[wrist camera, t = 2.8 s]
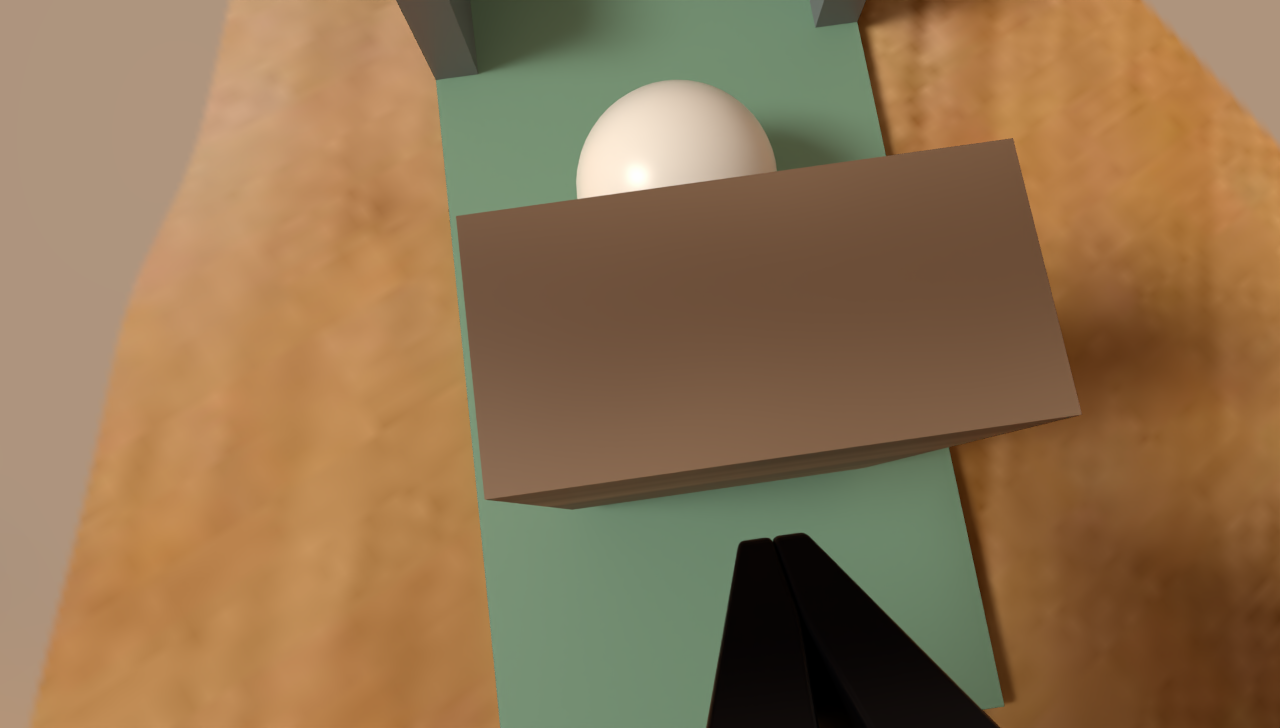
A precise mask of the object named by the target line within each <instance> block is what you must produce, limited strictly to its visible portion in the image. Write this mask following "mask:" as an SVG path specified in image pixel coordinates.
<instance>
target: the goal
mask: <svg viewBox="0 0 1280 728" xmlns="http://www.w3.org/2000/svg"><path fill="white" fill-rule="evenodd" d="M396 1H397V3H398V5H399V7H400V9H401V11H402V13H403V15H404V17H405V19H406V21H407V23H408V25H409V27H410V29H411V31H412V33H413V35H414V37H415V39H416V41H417V43H418V45H419V47H420V49H421V51H422V53H423V55H424V57H425V59H426V61H427V63H428V65H429V67H430V69H431V71H432V73H433V75H434V77H435V79H436V80H440V79H447V78H454V77H462V76H469V75H476V74H478V67H477V58H476V49H475V40H474V31H473V22H472V13H471V4H470V0H396ZM865 1H866V0H810V5H811V9H812V14H813V19H814V24H815V28H817V27H824V26H831V25H839V24H846V23H853V22H857V21H858V19H859V16H860V14H861V11H862V9H863V6H864V4H865Z"/></svg>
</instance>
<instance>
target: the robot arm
mask: <svg viewBox="0 0 1280 728" xmlns="http://www.w3.org/2000/svg"><path fill="white" fill-rule="evenodd" d="M706 728H1000V727H999V726H998V725H997V724H996V723H995V722H994V721H993V720H992V719H991V718H990V717H989V716H988V715H987V714H986V713H985V712H984V711H983V710H982V709H981V708H980V707H979V706H978V705H977V704H976V703H975V702H974V701H973V700H972V699H971V698H970V697H969V696H968V695H967V694H966V693H965V692H964V691H963V690H962V689H961V688H960V687H959V686H958V685H957V684H956V683H955V682H954V681H953V680H952V679H951V678H950V677H949V676H948V675H947V674H946V673H945V672H944V671H943V670H942V669H941V668H940V667H939V666H938V665H937V664H936V663H935V662H934V661H933V660H932V659H931V658H930V657H929V656H928V655H927V654H926V653H925V652H924V651H923V650H922V649H921V648H920V647H919V646H918V645H917V644H916V643H915V642H914V641H913V640H912V639H911V638H910V637H909V636H908V635H907V634H906V633H905V632H904V631H903V630H902V629H901V628H900V627H899V626H898V625H897V624H896V623H895V622H894V621H893V620H892V619H891V618H890V617H889V616H888V615H887V614H886V613H885V612H884V611H883V610H882V609H881V608H880V607H879V606H878V605H877V604H876V603H875V602H874V600H873V599H872V598H871V597H870V596H869V595H868V594H867V593H866V592H865V591H864V590H863V589H862V588H861V587H860V586H859V585H858V584H857V583H856V582H855V581H854V580H853V579H852V578H851V577H850V576H849V575H848V574H847V573H846V572H845V571H844V570H843V569H842V568H841V567H840V566H839V565H838V564H837V563H836V562H835V561H834V560H833V559H832V558H831V557H830V556H829V555H828V554H827V553H826V552H825V551H824V550H823V549H822V548H821V547H820V546H819V545H818V544H817V543H816V542H815V541H814V540H813V539H812V538H811V537H810V536H809V535H807V534H805V533H793V534H786V535H779V536H776V537H775V538H774V539H773V541H772V540H771V539H770V538H758V539H751V540H744V541H741V542H740V543H739V545H738V548H737V554H736V560H735V565H734V571H733V577H732V582H731V588H730V594H729V599H728V605H727V611H726V617H725V622H724V628H723V634H722V639H721V645H720V651H719V657H718V662H717V668H716V674H715V679H714V685H713V691H712V697H711V702H710V708H709V714H708V719H707V725H706Z"/></svg>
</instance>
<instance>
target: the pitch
mask: <svg viewBox="0 0 1280 728" xmlns="http://www.w3.org/2000/svg"><path fill="white" fill-rule="evenodd" d="M470 4H471V13H472V22H473V31H474V40H475V49H476V58H477V67H478V74H476V75H469V76H462V77H454V78H447V79H440V80H436V85H437V95H438V105H439V115H440V125H441V135H442V145H443V155H444V165H445V175H446V185H447V195H448V205H449V216H450V226H451V236H452V246H453V256H454V266H455V276H456V286H457V296H458V306H459V316H460V326H461V336H462V346H463V356H464V366H465V377H466V387H467V397H468V407H469V417H470V427H471V437H472V447H473V457H474V467H475V477H476V487H477V497H478V507H479V517H480V527H481V537H482V548H483V558H484V568H485V578H486V588H487V598H488V608H489V618H490V628H491V638H492V648H493V658H494V668H495V678H496V688H497V698H498V708H499V719H500V728H706V725H707V719H708V714H709V708H710V702H711V697H712V691H713V685H714V679H715V674H716V668H717V662H718V657H719V651H720V645H721V639H722V634H723V628H724V622H725V617H726V611H727V605H728V599H729V594H730V588H731V582H732V577H733V571H734V565H735V560H736V554H737V548H738V545H739V543H740V542H741V541H744V540H751V539H758V538H770V539H771V540H772V541H773V539H774V538H775V537H776V536H779V535H786V534H793V533H805V534H807V535H809V536H810V537H811V538H812V539H813V540H814V541H815V542H816V543H817V544H818V545H819V546H820V547H821V548H822V549H823V550H824V551H825V552H826V553H827V554H828V555H829V556H830V557H831V558H832V559H833V560H834V561H835V562H836V563H837V564H838V565H839V566H840V567H841V568H842V569H843V570H844V571H845V572H846V573H847V574H848V575H849V576H850V577H851V578H852V579H853V580H854V581H855V582H856V583H857V584H858V585H859V586H860V587H861V588H862V589H863V590H864V591H865V592H866V593H867V594H868V595H869V596H870V597H871V598H872V599H873V600H874V602H875V603H876V604H877V605H878V606H879V607H880V608H881V609H882V610H883V611H884V612H885V613H886V614H887V615H888V616H889V617H890V618H891V619H892V620H893V621H894V622H895V623H896V624H897V625H898V626H899V627H900V628H901V629H902V630H903V631H904V632H905V633H906V634H907V635H908V636H909V637H910V638H911V639H912V640H913V641H914V642H915V643H916V644H917V645H918V646H919V647H920V648H921V649H922V650H923V651H924V652H925V653H926V654H927V655H928V656H929V657H930V658H931V659H932V660H933V661H934V662H935V663H936V664H937V665H938V666H939V667H940V668H941V669H942V670H943V671H944V672H945V673H946V674H947V675H948V676H949V677H950V678H951V679H952V680H953V681H954V682H955V683H956V684H957V685H958V686H959V687H960V688H961V689H962V690H963V691H964V692H965V693H966V694H967V695H968V696H969V697H970V698H971V699H972V700H973V701H974V702H975V703H976V704H977V705H978V706H979V707H980V708H981V709H982V710H983V709H990V708H997V707H1004V702H1003V697H1002V692H1001V688H1000V683H999V678H998V674H997V669H996V664H995V660H994V655H993V651H992V646H991V641H990V637H989V632H988V627H987V623H986V618H985V613H984V609H983V604H982V599H981V595H980V590H979V586H978V581H977V576H976V572H975V567H974V562H973V558H972V553H971V548H970V544H969V539H968V534H967V530H966V525H965V520H964V516H963V511H962V507H961V502H960V497H959V493H958V488H957V483H956V479H955V474H954V469H953V465H952V460H951V455H950V451H949V447H947V448H943V449H939V450H935V451H931V452H927V453H923V454H919V455H915V456H911V457H907V458H903V459H899V460H895V461H890V462H886V463H882V464H878V465H874V466H870V467H866V468H861V469H854V470H847V471H840V472H833V473H826V474H819V475H812V476H805V477H798V478H791V479H784V480H777V481H770V482H763V483H756V484H749V485H742V486H735V487H728V488H721V489H714V490H707V491H700V492H693V493H686V494H679V495H672V496H665V497H658V498H651V499H644V500H637V501H630V502H623V503H616V504H609V505H602V506H595V507H588V508H581V509H574V510H570V509H561V508H553V507H544V506H535V505H526V504H518V503H509V502H500V501H492V500H485V499H484V489H483V479H482V469H481V460H480V450H479V440H478V430H477V420H476V410H475V400H474V390H473V380H472V371H471V361H470V351H469V341H468V331H467V321H466V311H465V301H464V291H463V281H462V272H461V262H460V252H459V242H458V232H457V222H456V216H460V215H467V214H474V213H481V212H488V211H496V210H503V209H510V208H517V207H524V206H531V205H539V204H546V203H553V202H560V201H567V200H574V199H577V188H576V177H577V168H578V163H579V159H580V154H581V151H582V148H583V146H584V143H585V140H586V138H587V137H588V135H589V133H590V131H591V129H592V128H593V126H594V125H595V123H596V122H597V121H598V119H599V118H600V116H601V115H602V114H603V113H604V112H605V111H606V110H607V109H608V108H609V107H610V106H611V105H612V104H614V103H615V102H616V101H617V100H619V99H620V98H622V97H623V96H625V95H626V94H628V93H630V92H631V91H633V90H635V89H638V88H640V87H642V86H645V85H648V84H651V83H655V82H660V81H665V80H690V81H696V82H701V83H705V84H708V85H711V86H714V87H716V88H718V89H721V90H723V91H724V92H726V93H728V94H730V95H731V96H733V97H734V98H735V99H737V100H738V101H739V102H741V103H742V104H743V105H744V106H745V107H746V108H747V109H748V110H749V111H750V112H751V113H752V114H753V115H754V116H755V118H756V119H757V120H758V122H759V123H760V124H761V126H762V128H763V130H764V131H765V133H766V135H767V137H768V139H769V142H770V144H771V147H772V149H773V153H774V157H775V160H776V168H777V171H782V170H790V169H797V168H804V167H811V166H818V165H825V164H833V163H840V162H847V161H854V160H861V159H869V158H876V157H883V156H886V154H885V149H884V144H883V140H882V135H881V130H880V126H879V121H878V116H877V112H876V107H875V102H874V98H873V93H872V89H871V84H870V79H869V75H868V70H867V65H866V61H865V56H864V51H863V47H862V42H861V37H860V33H859V28H858V23H857V22H853V23H846V24H839V25H831V26H824V27H817V28H815V24H814V19H813V14H812V9H811V5H810V0H470Z"/></svg>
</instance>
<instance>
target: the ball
mask: <svg viewBox="0 0 1280 728" xmlns="http://www.w3.org/2000/svg"><path fill="white" fill-rule="evenodd" d="M775 171H777V168H776V160H775V157H774V153H773V149H772V147H771V144H770V142H769V139H768V137H767V135H766V133H765V131H764V130H763V128H762V126H761V124H760V123H759V122H758V120H757V119H756V118H755V116H754V115H753V114H752V113H751V112H750V111H749V110H748V109H747V108H746V107H745V106H744V105H743V104H742V103H741V102H739V101H738V100H737V99H735V98H734V97H733V96H731V95H730V94H728V93H726V92H724V91H723V90H721V89H718V88H716V87H714V86H711V85H708V84H705V83H701V82H696V81H690V80H665V81H660V82H655V83H651V84H648V85H645V86H642V87H640V88H638V89H635V90H633V91H631V92H630V93H628V94H626V95H625V96H623V97H622V98H620V99H619V100H617V101H616V102H615V103H614V104H612V105H611V106H610V107H609V108H608V109H607V110H606V111H605V112H604V113H603V114H602V115H601V116H600V118H599V119H598V121H597V122H596V123H595V125H594V126H593V128H592V129H591V131H590V133H589V135H588V137H587V138H586V140H585V143H584V146H583V148H582V151H581V154H580V159H579V163H578V168H577V177H576V188H577V199H582V198H589V197H596V196H603V195H610V194H617V193H625V192H632V191H639V190H646V189H653V188H661V187H668V186H675V185H682V184H689V183H696V182H704V181H711V180H718V179H725V178H732V177H739V176H747V175H754V174H761V173H768V172H775Z"/></svg>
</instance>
